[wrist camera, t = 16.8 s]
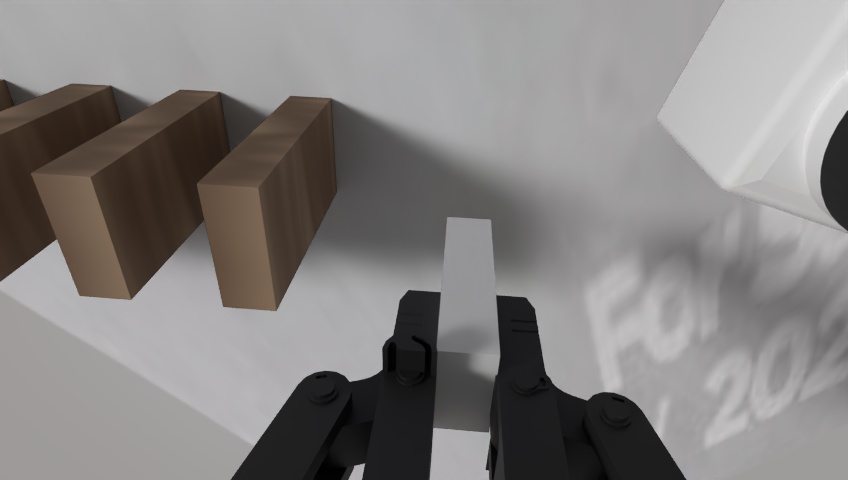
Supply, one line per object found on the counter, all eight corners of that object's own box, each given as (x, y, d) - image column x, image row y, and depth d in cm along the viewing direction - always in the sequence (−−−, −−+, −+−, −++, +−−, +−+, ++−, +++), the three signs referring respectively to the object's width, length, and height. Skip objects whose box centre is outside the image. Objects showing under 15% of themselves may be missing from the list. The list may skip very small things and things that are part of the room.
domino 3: (331, 98, 25) (258, 187, 16) (336, 191, 27) (276, 310, 19) (290, 96, 25) (196, 183, 16) (299, 189, 28) (223, 306, 19)
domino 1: (110, 85, 25) (-71, 166, 17) (136, 178, 28) (-10, 288, 19) (71, 83, 25) (-130, 162, 17) (101, 176, 28) (-60, 284, 20)
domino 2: (219, 92, 25) (90, 177, 17) (235, 185, 28) (131, 299, 19) (180, 89, 25) (30, 173, 17) (199, 182, 28) (79, 295, 19)
